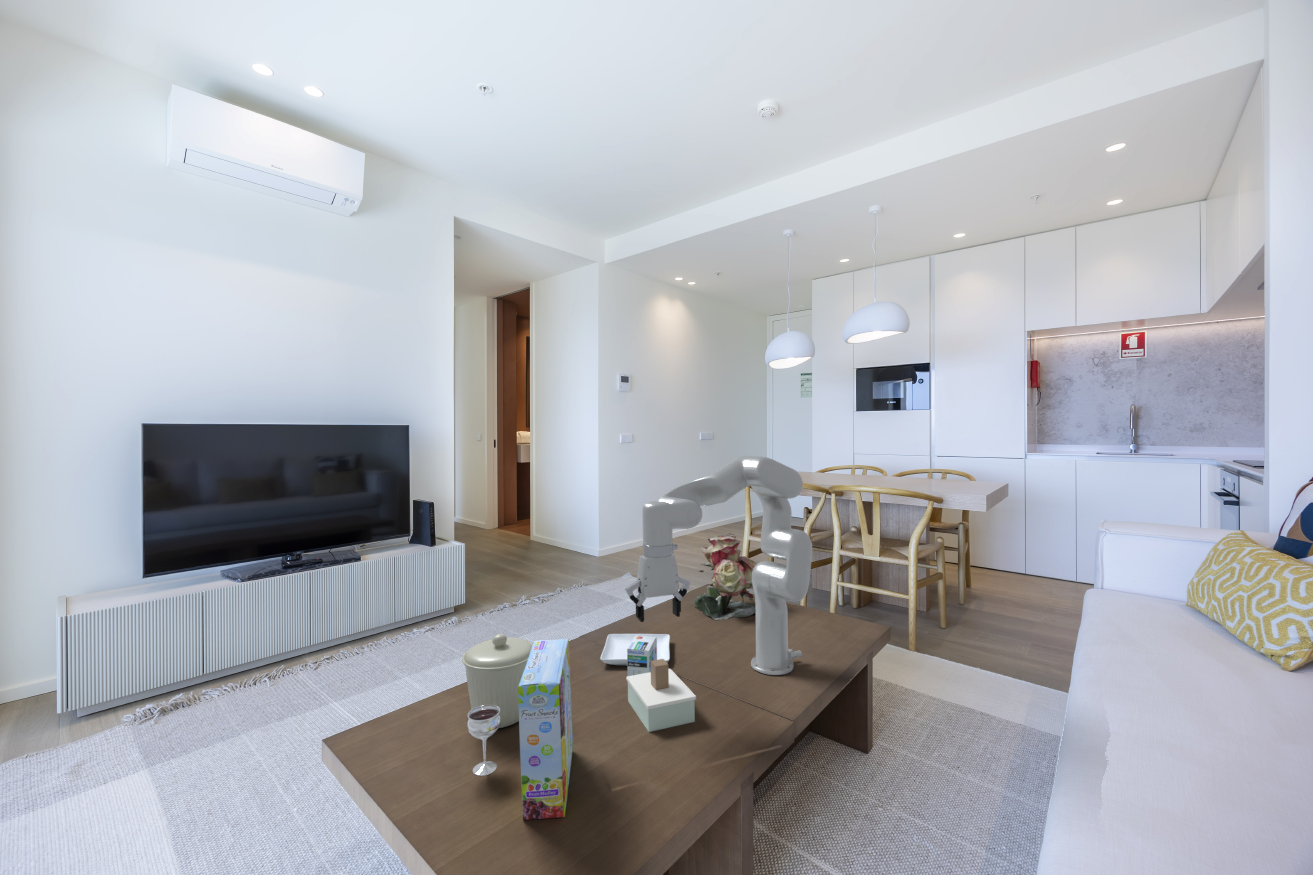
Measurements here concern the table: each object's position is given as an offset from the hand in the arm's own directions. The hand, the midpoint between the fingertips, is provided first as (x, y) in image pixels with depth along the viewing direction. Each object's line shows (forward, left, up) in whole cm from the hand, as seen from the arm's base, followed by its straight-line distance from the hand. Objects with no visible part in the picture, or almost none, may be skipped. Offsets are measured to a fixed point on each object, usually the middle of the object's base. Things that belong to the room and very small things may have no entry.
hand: (658, 617), depth 137 cm
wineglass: (+43, +7, -24) cm, 50 cm away
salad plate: (-6, -36, -25) cm, 44 cm away
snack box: (+31, +17, -24) cm, 43 cm away
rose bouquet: (-55, -64, -25) cm, 88 cm away
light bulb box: (-2, -19, -25) cm, 31 cm away
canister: (+38, -13, -24) cm, 47 cm away
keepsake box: (0, 0, -24) cm, 24 cm away
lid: (0, 0, -18) cm, 18 cm away
